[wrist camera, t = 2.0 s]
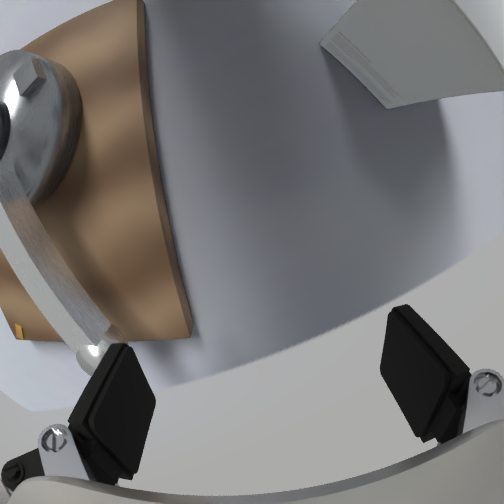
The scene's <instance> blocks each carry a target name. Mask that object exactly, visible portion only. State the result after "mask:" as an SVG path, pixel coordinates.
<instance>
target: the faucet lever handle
mask: <svg viewBox="0 0 504 504" xmlns="http://www.w3.org/2000/svg"><path fill="white" fill-rule="evenodd" d="M80 127H81V101H80V94H79V90H78V87H77V84H76V82H75V79H74V78H73V76H72V74H71V73H70V72H69V71H68V70H67V68H65V67H64V66H63V65H61V64H59V63H57V62H55V61H52V60H49V59H47V58H44V57H41V56H39V55H36V54H33V53H30V52H27V51H24V50H13V51H9V52H7V53H4V54H2V55H1V56H0V248H1V250H2V252H3V253H4V255H5V257H6V259H7V261H8V262H9V264H10V266H11V267H12V269H13V271H14V272H15V274H16V276H17V277H18V279H19V280H20V282H21V283H22V285H23V287H24V288H25V290H26V291H27V293H28V294H29V295H30V297H31V298H32V300H33V301H34V303H35V304H36V305H37V307H38V308H39V310H40V311H41V312H42V314H43V315H44V316H45V318H46V319H47V320H48V322H49V323H50V324H51V325H52V327H53V328H54V329H55V330H56V332H57V333H58V334H59V335H60V337H61V338H62V339H63V340H64V341H65V343H66V344H67V345H68V346H69V347H70V348H71V349H72V351H73V352H74V353H75V354H76V358H77V361H78V363H79V365H80V366H81V368H82V369H83V370H84V371H85V372H86V373H87V374H89V375H90V376H92V375H93V373H94V371H95V370H96V368H97V366H98V365H99V363H100V361H101V359H102V358H103V356H104V354H105V353H106V351H107V349H108V348H109V346H110V345H111V344H112V343H126V344H128V342H127V339H126V337H125V335H124V334H123V332H122V331H121V330H120V329H119V328H117V327H116V326H114V325H112V324H111V323H110V322H109V321H108V320H107V318H106V317H105V316H104V315H103V313H102V312H101V311H100V310H99V308H98V307H97V306H96V305H95V303H94V302H93V301H92V299H91V298H90V297H89V295H88V294H87V293H86V291H85V290H84V289H83V287H82V286H81V284H80V283H79V282H78V280H77V279H76V277H75V276H74V275H73V273H72V272H71V270H70V269H69V267H68V266H67V264H66V263H65V261H64V260H63V258H62V257H61V255H60V254H59V252H58V250H57V249H56V247H55V246H54V244H53V242H52V241H51V239H50V237H49V236H48V234H47V232H46V231H45V229H44V227H43V225H42V224H41V222H40V220H39V218H38V217H37V215H36V213H35V211H34V209H33V206H36V205H38V204H40V203H42V202H43V201H44V200H46V199H47V198H48V197H49V196H50V195H51V194H53V192H54V191H55V190H56V189H57V188H58V186H59V185H60V183H61V182H62V180H63V179H64V177H65V175H66V173H67V171H68V169H69V167H70V165H71V162H72V160H73V157H74V154H75V151H76V147H77V143H78V139H79V133H80Z"/></svg>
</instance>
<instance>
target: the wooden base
mask: <svg viewBox="0 0 504 504" xmlns="http://www.w3.org/2000/svg"><path fill="white" fill-rule="evenodd" d="M20 50H24V51H27V52H30V53H33V54H36V55H39V56H41V57H44V58H47V59H49V60H52V61H55V62H57V63H59V64H61V65H63V66H64V67H65V68H67V70H68V71H69V72H70V73H71V74H72V76H73V78H74V79H75V82H76V84H77V87H78V90H79V94H80V101H81V127H80V133H79V139H78V143H77V147H76V151H75V154H74V157H73V160H72V162H71V165H70V167H69V169H68V171H67V173H66V175H65V177H64V179H63V180H62V182H61V183H60V185H59V186H58V188H57V189H56V190H55V191H54V192H53V194H51V195H50V196H49V197H48V198H47V199H46V200H44V201H43V202H42V203H40V204H38V205H36V206H33V209H34V211H35V213H36V215H37V217H38V218H39V220H40V222H41V224H42V225H43V227H44V229H45V231H46V232H47V234H48V236H49V237H50V239H51V241H52V242H53V244H54V246H55V247H56V249H57V250H58V252H59V254H60V255H61V257H62V258H63V260H64V261H65V263H66V264H67V266H68V267H69V269H70V270H71V272H72V273H73V275H74V276H75V277H76V279H77V280H78V282H79V283H80V284H81V286H82V287H83V289H84V290H85V291H86V293H87V294H88V295H89V297H90V298H91V299H92V301H93V302H94V303H95V305H96V306H97V307H98V308H99V310H100V311H101V312H102V313H103V315H104V316H105V317H106V318H107V320H108V321H109V322H110V323H111V324H112V325H114V326H116V327H117V328H119V329H120V330H121V331H122V332H123V334H124V335H125V337H126V339H127V341H147V340H165V339H180V338H190V336H191V332H192V328H193V320H192V316H191V313H190V309H189V305H188V302H187V298H186V294H185V290H184V286H183V282H182V278H181V274H180V269H179V265H178V261H177V257H176V252H175V248H174V243H173V238H172V234H171V229H170V224H169V219H168V214H167V209H166V204H165V198H164V193H163V187H162V181H161V176H160V170H159V163H158V157H157V150H156V143H155V136H154V129H153V121H152V113H151V104H150V94H149V84H148V72H147V59H146V43H145V17H144V2H143V1H142V0H114V1H111V2H109V3H106V4H104V5H101V6H99V7H96V8H94V9H92V10H90V11H87V12H85V13H83V14H81V15H79V16H77V17H75V18H73V19H71V20H69V21H67V22H65V23H63V24H61V25H59V26H58V27H56V28H54V29H52V30H50V31H49V32H47V33H45V34H44V35H42V36H40V37H39V38H37V39H35V40H34V41H32V42H31V43H29V44H28V45H26V46H25V47H23V48H22V49H20ZM0 307H1V309H2V311H3V313H4V316H5V318H6V320H7V322H8V324H9V326H10V328H11V330H12V332H13V334H14V336H15V338H16V339H19V340H35V341H59V342H65V341H64V340H63V339H62V338H61V337H60V335H59V334H58V333H57V332H56V330H55V329H54V328H53V327H52V325H51V324H50V323H49V322H48V320H47V319H46V318H45V316H44V315H43V314H42V312H41V311H40V310H39V308H38V307H37V305H36V304H35V303H34V301H33V300H32V298H31V297H30V295H29V294H28V293H27V291H26V290H25V288H24V287H23V285H22V283H21V282H20V280H19V279H18V277H17V276H16V274H15V272H14V271H13V269H12V267H11V266H10V264H9V262H8V261H7V259H6V257H5V255H4V253H3V252H2V250H1V248H0Z"/></svg>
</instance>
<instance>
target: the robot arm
mask: <svg viewBox="0 0 504 504" xmlns="http://www.w3.org/2000/svg"><path fill="white" fill-rule="evenodd" d="M469 370H470V369H469V367H468V366H467V365H466V364H465V363H464V362H463V361H462V360H461V359H460V357H459V356H458V355H457V354H456V353H455V352H454V351H453V350H452V349H451V348H450V347H449V346H448V345H447V344H446V342H445V341H444V340H443V339H442V338H441V337H440V336H439V335H438V334H437V333H436V332H435V331H434V330H433V329H432V328H431V327H430V326H429V325H428V324H427V323H426V322H425V321H424V320H423V319H422V318H421V317H420V316H419V315H418V314H417V313H416V312H415V311H414V310H413V309H412V308H411V307H410V306H409V305H407V304H405V305H402V306H397V307H394V308H393V309H392V311H391V312H390V313H389V314H388V319H387V327H386V334H385V340H384V347H383V353H382V358H381V364H380V372H381V375H382V377H383V379H384V380H385V382H386V384H387V386H388V387H389V389H390V391H391V393H392V394H393V396H394V398H395V400H396V402H397V403H398V405H399V407H400V408H401V410H402V412H403V414H404V416H405V418H406V420H407V421H408V423H409V425H410V427H411V429H412V431H413V433H414V434H415V436H416V437H420V438H421V440H422V442H423V443H424V442H427V441H429V440H431V439H433V438H436V440H437V442H438V444H437V447H435V448H432V449H430V450H428V451H426V452H423V453H421V454H419V455H417V456H414V457H411V458H409V459H406V460H404V461H401V462H399V463H396V464H393V465H391V466H388V467H385V468H383V469H380V470H376V471H373V472H370V473H367V474H364V475H360V476H357V477H353V478H349V479H346V480H342V481H338V482H333V483H329V484H324V485H320V486H315V487H310V488H304V489H299V490H292V491H284V492H276V493H267V494H257V495H256V494H255V495H239V496H194V495H177V494H166V493H157V492H150V491H143V490H135V489H129V488H123V487H120V486H119V485H118V479H119V478H123V479H128V480H132V479H133V475H134V474H135V473H137V472H138V468H139V464H140V461H141V457H142V453H143V449H144V445H145V441H146V438H147V434H148V430H149V426H150V422H151V419H152V416H153V412H154V409H155V405H156V399H155V396H154V394H153V392H152V390H151V388H150V386H149V384H148V381H147V379H146V377H145V375H144V373H143V371H142V369H141V366H140V364H139V362H138V359H137V357H136V355H135V353H134V350H133V348H132V347H129V346H128V344H126V343H112V344H111V345H110V346H109V348H108V349H107V351H106V353H105V354H104V356H103V358H102V359H101V361H100V363H99V365H98V366H97V368H96V370H95V371H94V373H93V375H92V377H91V378H90V380H89V382H88V384H87V386H86V387H85V389H84V391H83V393H82V395H81V396H80V398H79V400H78V402H77V404H76V406H75V408H74V409H73V411H72V413H71V415H70V417H69V419H68V422H69V423H70V424H69V426H68V428H67V427H66V426H64V425H61V424H54V425H51V426H49V427H47V428H46V429H44V430H43V431H42V433H41V434H40V436H39V439H38V448H37V449H35V450H33V451H30V452H28V453H26V454H24V455H21V456H19V457H17V458H14V459H12V460H10V461H8V462H7V463H6V464H5V465H4V467H3V469H2V473H1V476H2V479H0V504H504V379H503V377H502V376H501V375H500V374H499V373H498V372H496V371H494V370H491V369H481V370H478V371H476V372H474V373H473V375H471V373H470V372H469Z"/></svg>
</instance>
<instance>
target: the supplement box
mask: <svg viewBox="0 0 504 504" xmlns="http://www.w3.org/2000/svg"><path fill="white" fill-rule="evenodd" d="M320 45H321V46H322V47H324V48H325V49H326V50H327V51H328V52H329V53H330V54H332V55H333V56H334V57H335V58H336V59H337V60H338V61H339V62H341V63H342V64H343V65H344V66H345V67H346V68H347V69H348V70H349V71H350V72H351V73H352V74H353V75H354V76H355V77H356V78H357V79H358V80H359V81H360V82H361V83H362V84H363V85H364V86H365V87H366V88H367V89H368V90H369V91H370V92H371V93H372V94H373V95H374V96H375V97H376V98H377V99H378V100H379V101H380V103H382V104H383V105H384V107H385V108H387V109H391V108H395V107H400V106H405V105H410V104H414V103H419V102H425V101H430V100H436V99H442V98H447V97H454V96H461V95H468V94H476V93H486V92H497V91H504V0H357V1H356V2H355V3H354V4H353V5H352V6H351V7H350V9H349V10H348V11H347V12H346V13H345V14H344V15H343V16H342V17H341V19H340V20H339V21H338V22H337V23H336V25H335V26H334V27H333V28H332V29H331V30H330V31H329V33H328V34H327V35H326V36H325V37H324V39H323V40H322V41H321V42H320Z"/></svg>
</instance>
